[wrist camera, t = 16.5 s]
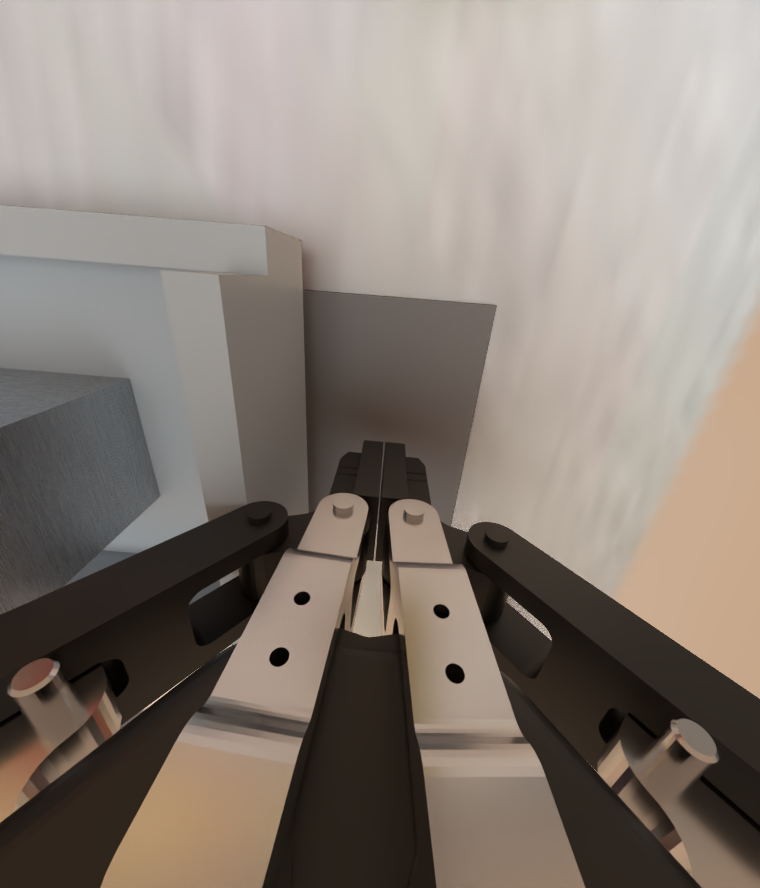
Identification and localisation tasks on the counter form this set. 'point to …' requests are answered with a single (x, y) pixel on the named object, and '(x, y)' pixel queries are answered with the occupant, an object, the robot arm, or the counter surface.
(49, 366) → the grey shallow tray
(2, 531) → the steel block
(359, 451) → the runner mat
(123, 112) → the counter surface
